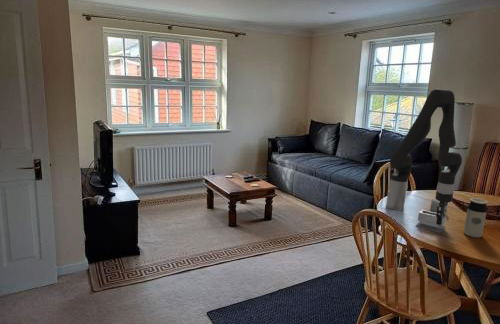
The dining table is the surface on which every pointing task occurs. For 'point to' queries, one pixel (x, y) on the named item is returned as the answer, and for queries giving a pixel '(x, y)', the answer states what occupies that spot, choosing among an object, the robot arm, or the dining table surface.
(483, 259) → the dining table surface
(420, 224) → the mat
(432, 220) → the white slotted block
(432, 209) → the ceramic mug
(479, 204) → the travel mug
